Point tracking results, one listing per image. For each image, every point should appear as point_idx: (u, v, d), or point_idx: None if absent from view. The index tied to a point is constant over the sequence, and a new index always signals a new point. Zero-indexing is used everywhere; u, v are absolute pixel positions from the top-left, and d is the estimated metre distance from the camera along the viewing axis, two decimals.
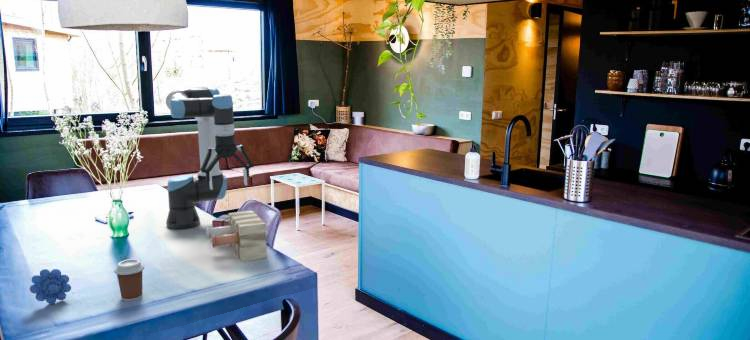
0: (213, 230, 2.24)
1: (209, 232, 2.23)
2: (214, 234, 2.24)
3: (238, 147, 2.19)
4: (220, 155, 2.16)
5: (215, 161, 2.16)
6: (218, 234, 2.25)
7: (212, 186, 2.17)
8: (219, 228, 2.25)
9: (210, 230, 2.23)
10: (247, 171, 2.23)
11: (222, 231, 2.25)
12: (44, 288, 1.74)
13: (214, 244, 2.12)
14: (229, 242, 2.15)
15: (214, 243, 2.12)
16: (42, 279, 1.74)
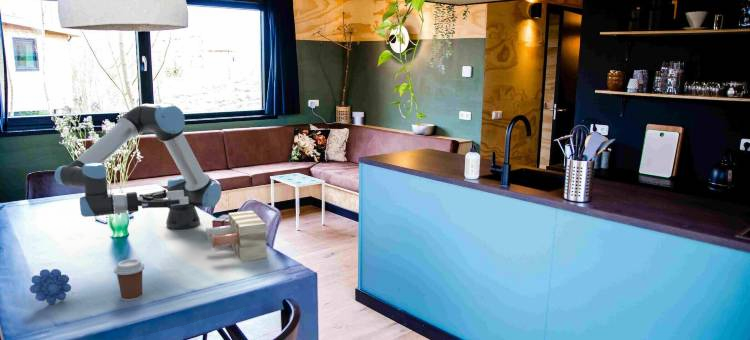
0: (213, 230, 2.24)
1: (209, 232, 2.23)
2: (214, 234, 2.24)
3: None
4: None
5: None
6: (218, 234, 2.25)
7: (181, 197, 2.23)
8: (219, 228, 2.25)
9: (210, 230, 2.23)
10: None
11: (222, 231, 2.25)
12: (44, 288, 1.74)
13: (214, 244, 2.12)
14: (229, 242, 2.15)
15: (214, 243, 2.12)
16: (42, 279, 1.74)
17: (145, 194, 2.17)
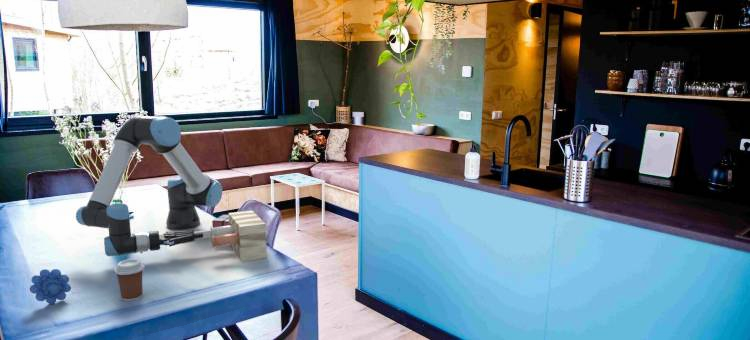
0: (217, 229, 2.25)
1: (213, 231, 2.24)
2: (218, 233, 2.25)
3: None
4: None
5: None
6: (222, 233, 2.25)
7: (208, 236, 2.25)
8: (223, 227, 2.26)
9: (214, 229, 2.24)
10: None
11: (226, 230, 2.26)
12: (44, 288, 1.74)
13: (214, 244, 2.12)
14: (229, 242, 2.15)
15: (214, 243, 2.12)
16: (42, 279, 1.74)
17: (170, 232, 2.22)
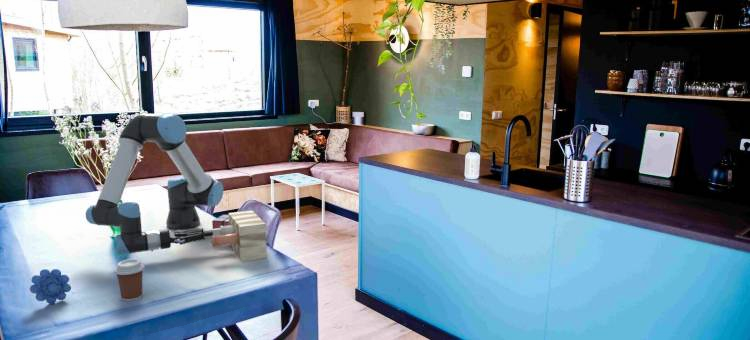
0: (227, 228, 2.26)
1: (223, 230, 2.25)
2: (228, 232, 2.26)
3: None
4: None
5: None
6: (232, 232, 2.27)
7: None
8: None
9: (224, 228, 2.26)
10: None
11: None
12: (44, 288, 1.74)
13: (214, 244, 2.12)
14: (229, 242, 2.15)
15: (214, 243, 2.12)
16: (42, 279, 1.74)
17: (180, 230, 2.24)
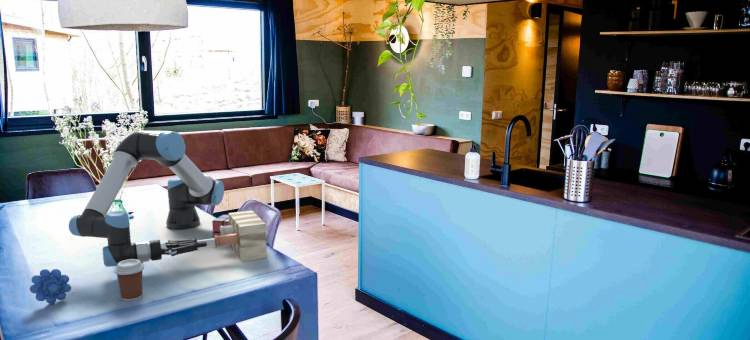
0: (227, 228, 2.26)
1: (223, 230, 2.25)
2: (228, 232, 2.26)
3: None
4: None
5: None
6: (232, 232, 2.27)
7: (211, 245, 2.14)
8: None
9: (224, 228, 2.26)
10: None
11: None
12: (44, 288, 1.74)
13: (217, 244, 2.13)
14: (232, 242, 2.16)
15: (217, 243, 2.13)
16: (42, 279, 1.74)
17: (172, 241, 2.12)
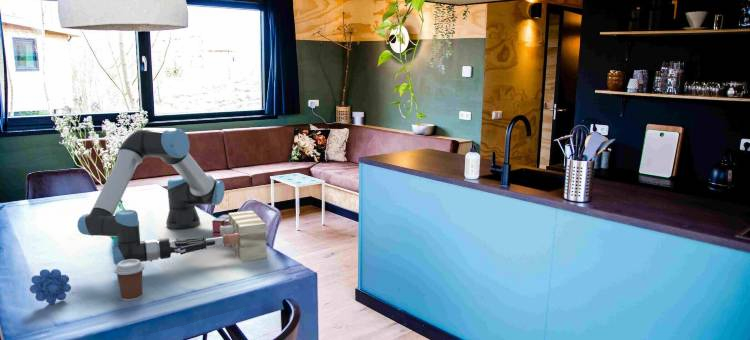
0: (227, 228, 2.26)
1: (223, 230, 2.25)
2: (228, 232, 2.26)
3: None
4: None
5: None
6: (232, 232, 2.27)
7: None
8: None
9: (224, 228, 2.26)
10: None
11: None
12: (44, 288, 1.74)
13: (225, 242, 2.14)
14: None
15: (225, 241, 2.14)
16: (42, 279, 1.74)
17: (181, 239, 2.13)
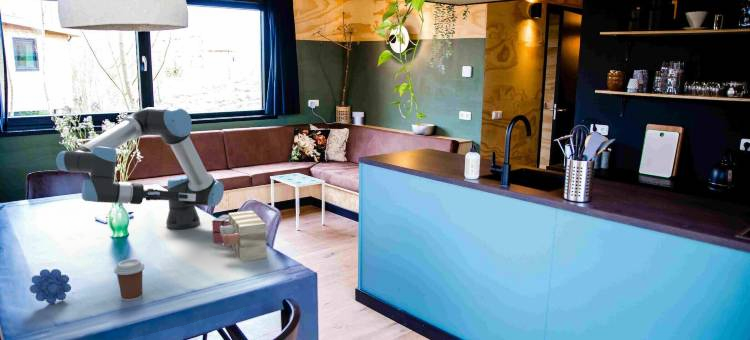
0: (227, 228, 2.26)
1: (223, 230, 2.25)
2: (228, 232, 2.26)
3: (153, 194, 2.00)
4: (152, 199, 2.06)
5: (161, 199, 2.08)
6: (232, 232, 2.27)
7: (191, 200, 2.13)
8: None
9: (224, 228, 2.26)
10: (181, 198, 2.10)
11: None
12: (44, 288, 1.74)
13: (225, 242, 2.14)
14: None
15: (225, 241, 2.14)
16: (42, 279, 1.74)
17: None
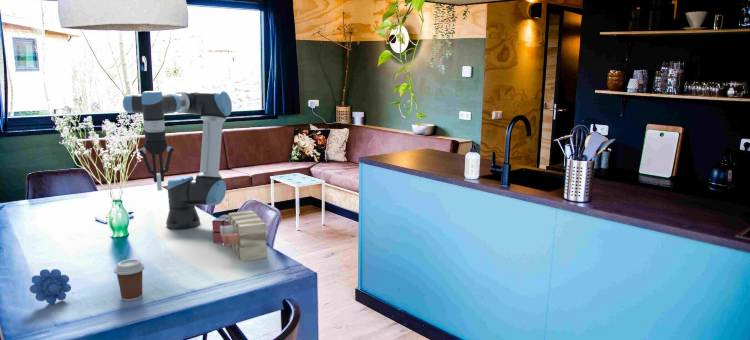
0: (227, 228, 2.26)
1: (223, 230, 2.25)
2: (228, 232, 2.26)
3: (168, 147, 2.19)
4: (153, 152, 2.15)
5: (153, 160, 2.16)
6: (232, 232, 2.27)
7: (159, 187, 2.19)
8: None
9: (224, 228, 2.26)
10: (162, 176, 2.19)
11: None
12: (44, 288, 1.74)
13: (225, 242, 2.14)
14: None
15: (225, 241, 2.14)
16: (42, 279, 1.74)
17: None
